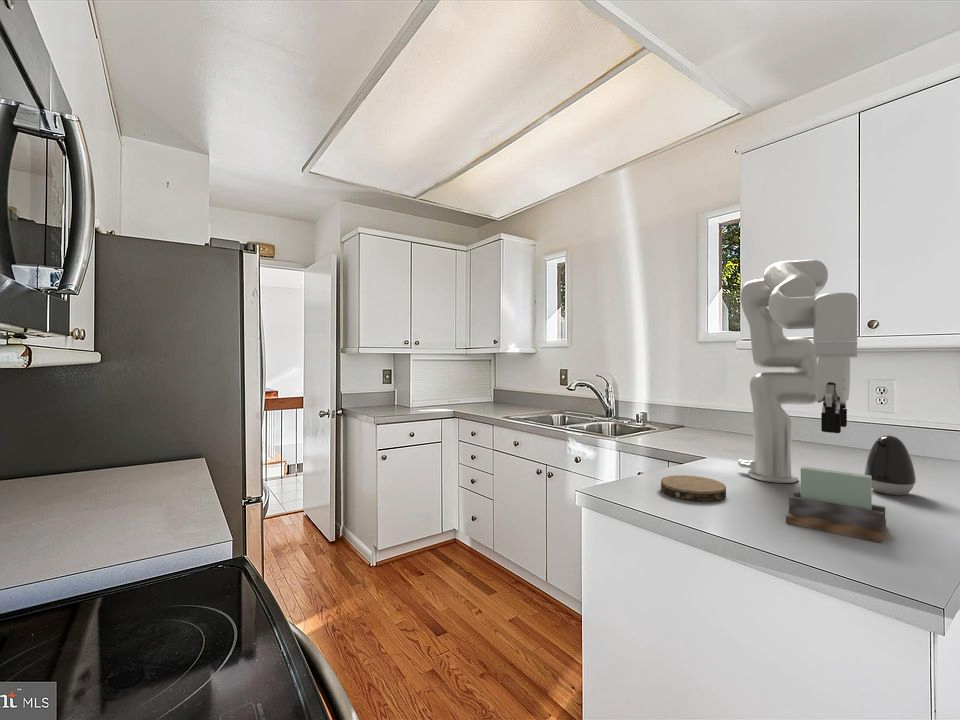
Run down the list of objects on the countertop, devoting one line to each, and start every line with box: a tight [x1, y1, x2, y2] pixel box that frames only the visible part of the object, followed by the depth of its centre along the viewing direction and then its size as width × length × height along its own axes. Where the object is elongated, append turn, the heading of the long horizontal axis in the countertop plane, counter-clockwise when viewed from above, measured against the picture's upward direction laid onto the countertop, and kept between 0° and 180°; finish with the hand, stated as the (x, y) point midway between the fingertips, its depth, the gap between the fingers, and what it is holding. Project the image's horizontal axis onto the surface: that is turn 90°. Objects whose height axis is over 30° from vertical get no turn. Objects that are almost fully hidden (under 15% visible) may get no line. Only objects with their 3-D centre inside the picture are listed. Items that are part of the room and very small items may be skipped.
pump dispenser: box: [863, 435, 917, 496], centre depth 122 cm, size 10×10×15 cm
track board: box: [785, 491, 887, 544], centre depth 100 cm, size 16×12×5 cm
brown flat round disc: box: [660, 474, 727, 503], centre depth 124 cm, size 16×16×3 cm
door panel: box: [800, 466, 873, 510], centre depth 100 cm, size 12×2×10 cm, turn 46°
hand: (834, 429), depth 100 cm, fingers open, 9 cm apart
